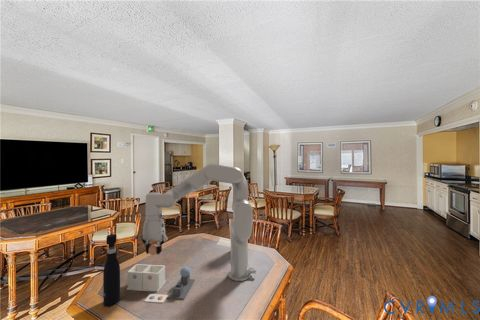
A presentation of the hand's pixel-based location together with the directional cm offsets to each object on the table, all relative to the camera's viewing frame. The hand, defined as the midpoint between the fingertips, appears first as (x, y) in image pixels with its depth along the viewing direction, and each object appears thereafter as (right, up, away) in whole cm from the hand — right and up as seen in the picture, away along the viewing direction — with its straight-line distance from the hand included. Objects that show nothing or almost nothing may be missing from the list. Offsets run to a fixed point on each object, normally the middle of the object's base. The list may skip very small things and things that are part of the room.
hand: (153, 252), depth 104 cm
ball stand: (+15, -17, -3) cm, 23 cm away
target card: (+5, -17, -10) cm, 20 cm away
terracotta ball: (0, -1, 0) cm, 1 cm away
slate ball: (+16, -13, +2) cm, 21 cm away
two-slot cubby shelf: (-4, -17, 0) cm, 17 cm away
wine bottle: (-14, -17, -11) cm, 25 cm away
